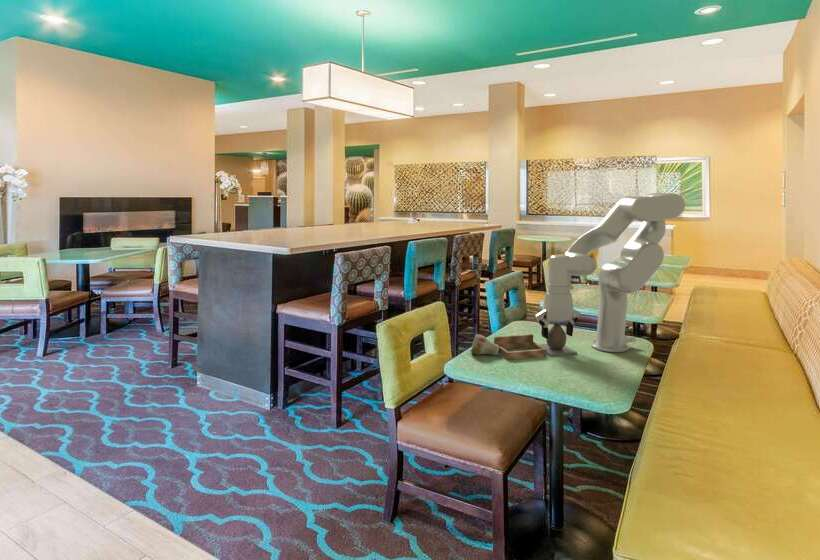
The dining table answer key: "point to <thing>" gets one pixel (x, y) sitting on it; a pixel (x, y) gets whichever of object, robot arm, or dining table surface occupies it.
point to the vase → (556, 337)
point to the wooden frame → (519, 347)
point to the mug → (484, 346)
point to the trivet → (558, 351)
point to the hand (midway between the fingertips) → (557, 336)
